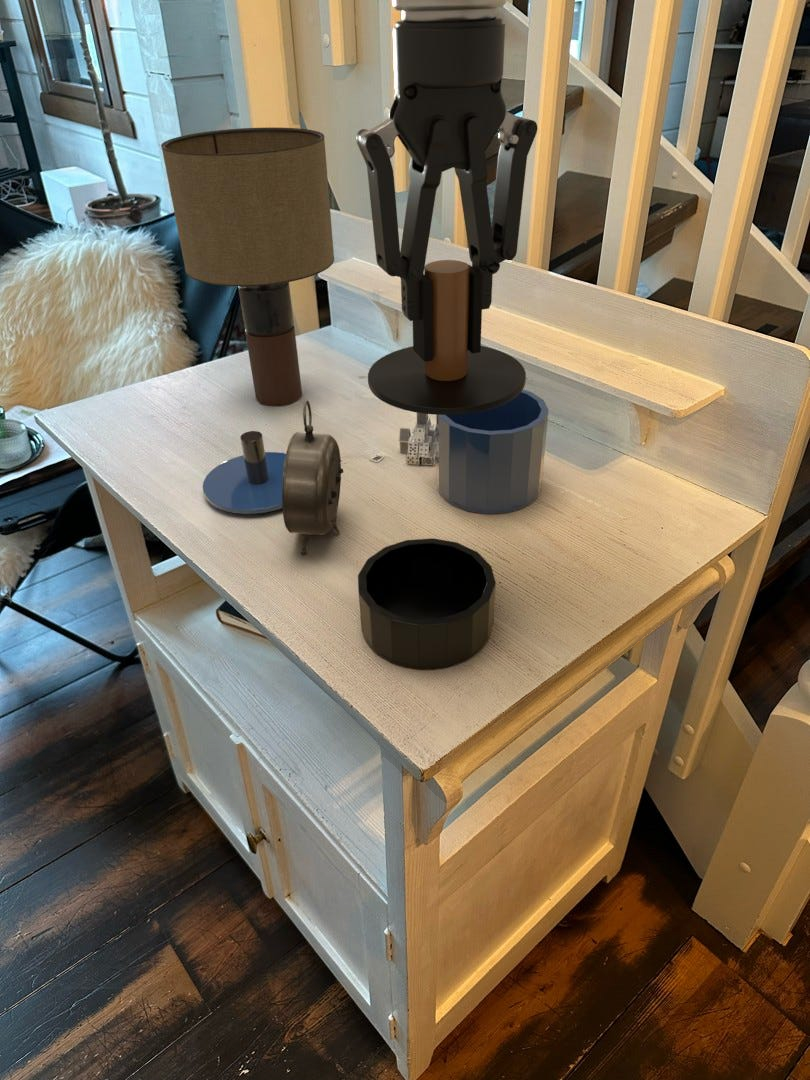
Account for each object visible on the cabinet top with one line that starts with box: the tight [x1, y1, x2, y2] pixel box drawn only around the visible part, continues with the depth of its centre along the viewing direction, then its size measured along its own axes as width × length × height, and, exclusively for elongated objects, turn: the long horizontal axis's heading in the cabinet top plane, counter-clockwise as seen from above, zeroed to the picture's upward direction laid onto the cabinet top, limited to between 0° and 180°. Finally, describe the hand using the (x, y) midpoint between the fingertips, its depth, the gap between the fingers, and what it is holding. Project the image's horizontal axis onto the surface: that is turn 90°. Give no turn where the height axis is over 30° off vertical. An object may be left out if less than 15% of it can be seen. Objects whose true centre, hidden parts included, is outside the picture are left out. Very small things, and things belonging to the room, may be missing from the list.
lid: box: [367, 259, 527, 416], centre depth 63 cm, size 14×14×10 cm
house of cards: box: [369, 412, 437, 467], centre depth 99 cm, size 9×9×8 cm
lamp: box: [160, 127, 335, 407], centre depth 105 cm, size 20×20×35 cm
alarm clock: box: [281, 399, 344, 556], centre depth 81 cm, size 11×5×16 cm, turn 174°
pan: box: [357, 538, 497, 671], centre depth 72 cm, size 13×13×6 cm
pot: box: [435, 389, 549, 515], centre depth 90 cm, size 13×13×10 cm
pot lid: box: [202, 430, 286, 515], centre depth 92 cm, size 14×14×7 cm
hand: (446, 350), depth 64 cm, fingers closed on lid, 4 cm apart
